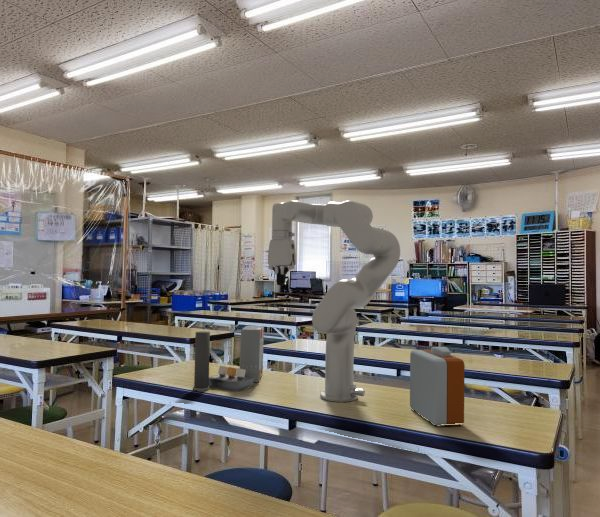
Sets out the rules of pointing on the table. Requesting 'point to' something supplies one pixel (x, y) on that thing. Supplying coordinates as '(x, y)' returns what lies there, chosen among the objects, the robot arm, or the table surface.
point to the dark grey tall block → (202, 361)
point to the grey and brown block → (437, 385)
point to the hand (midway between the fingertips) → (280, 285)
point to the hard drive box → (252, 351)
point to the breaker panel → (230, 382)
